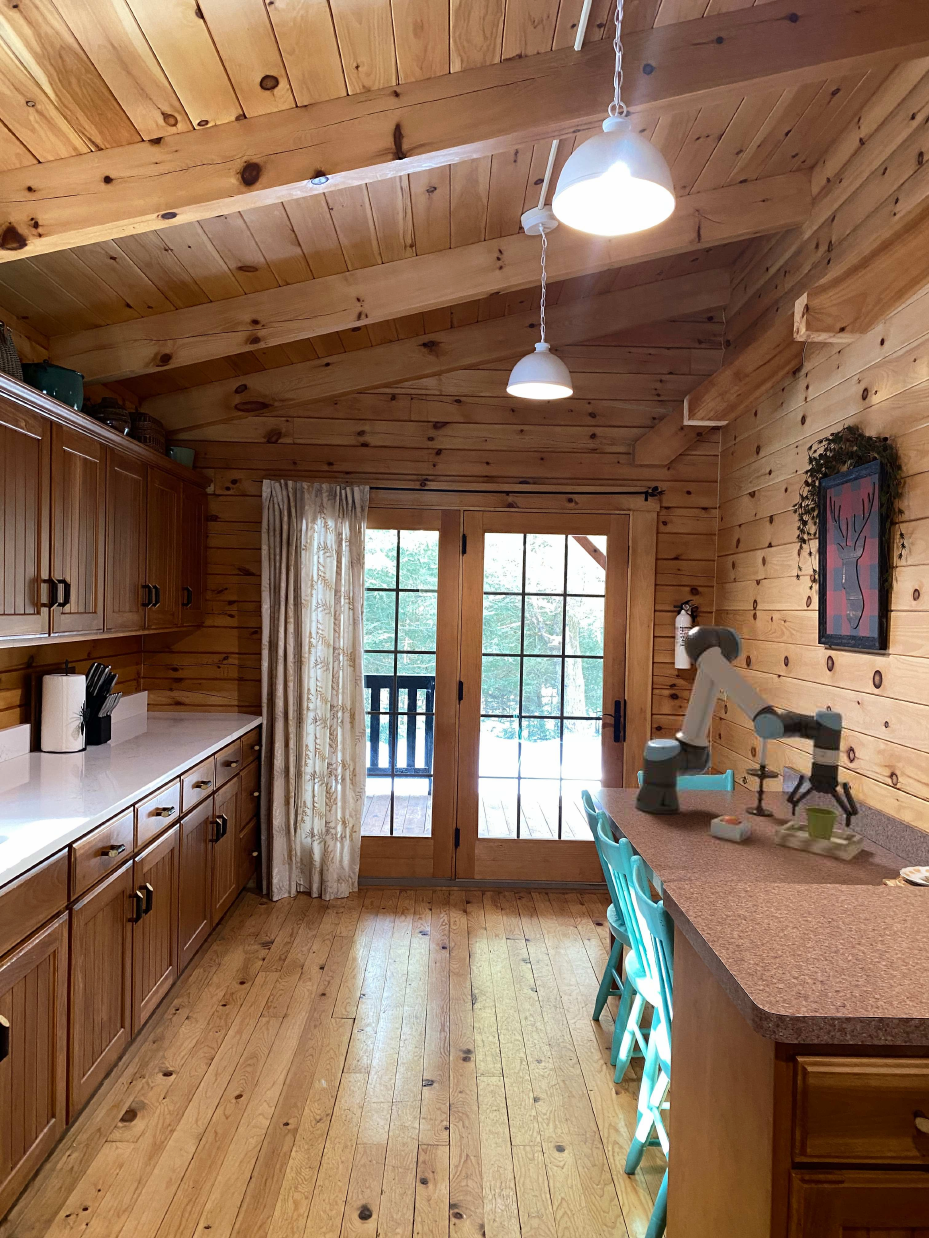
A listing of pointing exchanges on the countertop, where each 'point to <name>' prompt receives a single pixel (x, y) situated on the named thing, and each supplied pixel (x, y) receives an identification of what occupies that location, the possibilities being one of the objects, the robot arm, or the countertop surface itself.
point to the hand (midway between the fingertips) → (819, 832)
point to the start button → (731, 820)
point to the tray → (819, 841)
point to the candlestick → (761, 782)
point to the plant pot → (820, 822)
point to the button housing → (730, 829)
